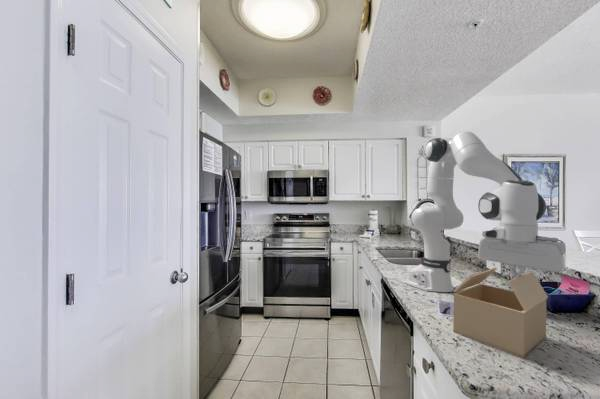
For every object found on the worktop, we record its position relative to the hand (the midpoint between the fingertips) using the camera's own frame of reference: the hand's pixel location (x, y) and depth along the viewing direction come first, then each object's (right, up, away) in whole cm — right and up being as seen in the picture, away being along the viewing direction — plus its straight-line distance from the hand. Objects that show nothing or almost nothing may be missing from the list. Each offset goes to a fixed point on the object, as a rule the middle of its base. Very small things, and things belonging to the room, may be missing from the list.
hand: (517, 280), depth 82 cm
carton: (-3, -18, +4) cm, 19 cm away
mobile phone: (-7, -19, +24) cm, 31 cm away
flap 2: (+2, -2, -2) cm, 3 cm away
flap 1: (-6, -3, +9) cm, 11 cm away
